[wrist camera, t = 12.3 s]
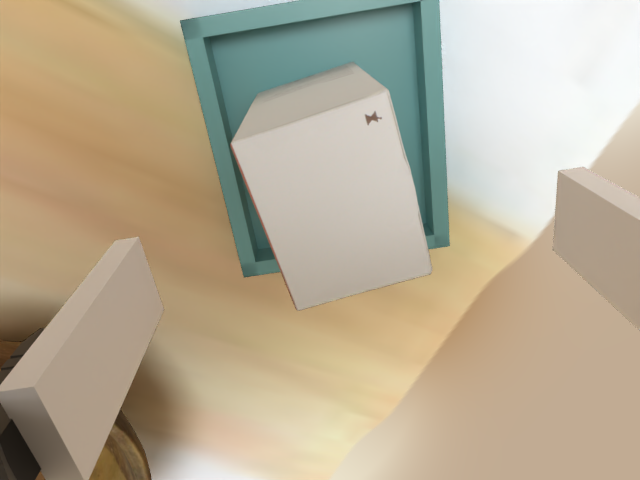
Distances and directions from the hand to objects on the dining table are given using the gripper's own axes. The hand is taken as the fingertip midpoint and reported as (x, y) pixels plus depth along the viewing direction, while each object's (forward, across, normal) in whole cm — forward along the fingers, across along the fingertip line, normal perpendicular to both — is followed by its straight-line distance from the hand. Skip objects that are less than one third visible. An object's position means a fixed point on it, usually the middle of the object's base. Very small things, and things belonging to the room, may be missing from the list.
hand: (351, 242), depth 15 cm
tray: (+18, 0, -1) cm, 18 cm away
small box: (+17, 0, -1) cm, 17 cm away
